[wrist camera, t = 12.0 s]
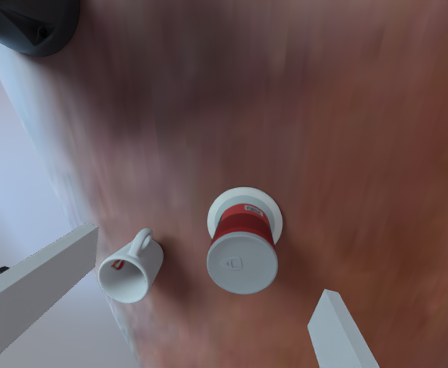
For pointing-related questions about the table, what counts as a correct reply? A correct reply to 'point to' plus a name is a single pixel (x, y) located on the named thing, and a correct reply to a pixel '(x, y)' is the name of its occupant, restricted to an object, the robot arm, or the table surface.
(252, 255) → the canned food
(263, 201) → the plate
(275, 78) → the table surface
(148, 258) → the cup
